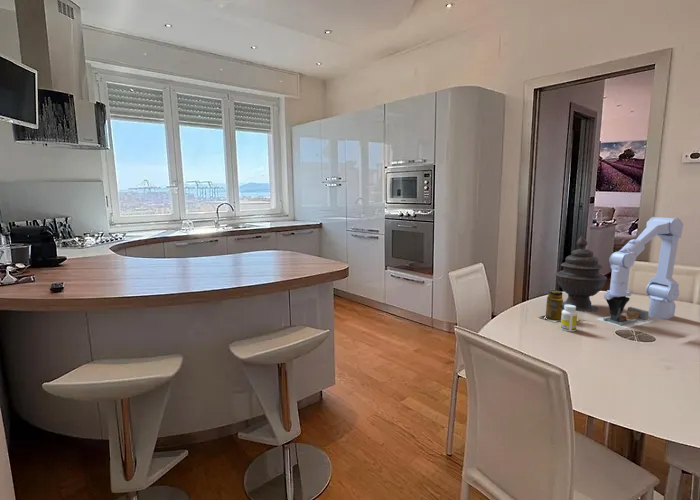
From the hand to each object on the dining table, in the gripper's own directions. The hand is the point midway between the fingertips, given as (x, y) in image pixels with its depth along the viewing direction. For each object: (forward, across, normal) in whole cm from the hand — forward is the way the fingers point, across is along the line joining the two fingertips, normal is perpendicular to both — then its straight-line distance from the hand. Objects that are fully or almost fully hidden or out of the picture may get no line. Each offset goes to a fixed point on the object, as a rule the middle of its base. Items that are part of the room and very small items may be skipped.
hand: (615, 314), depth 154 cm
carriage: (+3, -2, 0) cm, 4 cm away
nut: (+3, -12, 0) cm, 12 cm away
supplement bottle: (+5, +21, -5) cm, 22 cm away
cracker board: (+5, -7, 0) cm, 9 cm away
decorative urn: (+5, -7, -21) cm, 23 cm away
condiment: (+5, +15, -17) cm, 23 cm away
